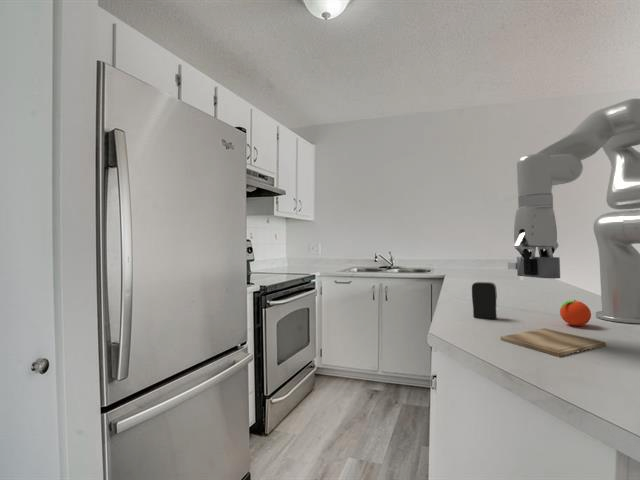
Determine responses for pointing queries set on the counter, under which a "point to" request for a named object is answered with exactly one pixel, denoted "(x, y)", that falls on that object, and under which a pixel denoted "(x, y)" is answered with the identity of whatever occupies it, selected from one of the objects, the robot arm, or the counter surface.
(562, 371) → the counter surface
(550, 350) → the board
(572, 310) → the clementine
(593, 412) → the counter surface
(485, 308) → the battery charger
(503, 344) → the counter surface
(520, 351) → the counter surface
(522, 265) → the usb stick
